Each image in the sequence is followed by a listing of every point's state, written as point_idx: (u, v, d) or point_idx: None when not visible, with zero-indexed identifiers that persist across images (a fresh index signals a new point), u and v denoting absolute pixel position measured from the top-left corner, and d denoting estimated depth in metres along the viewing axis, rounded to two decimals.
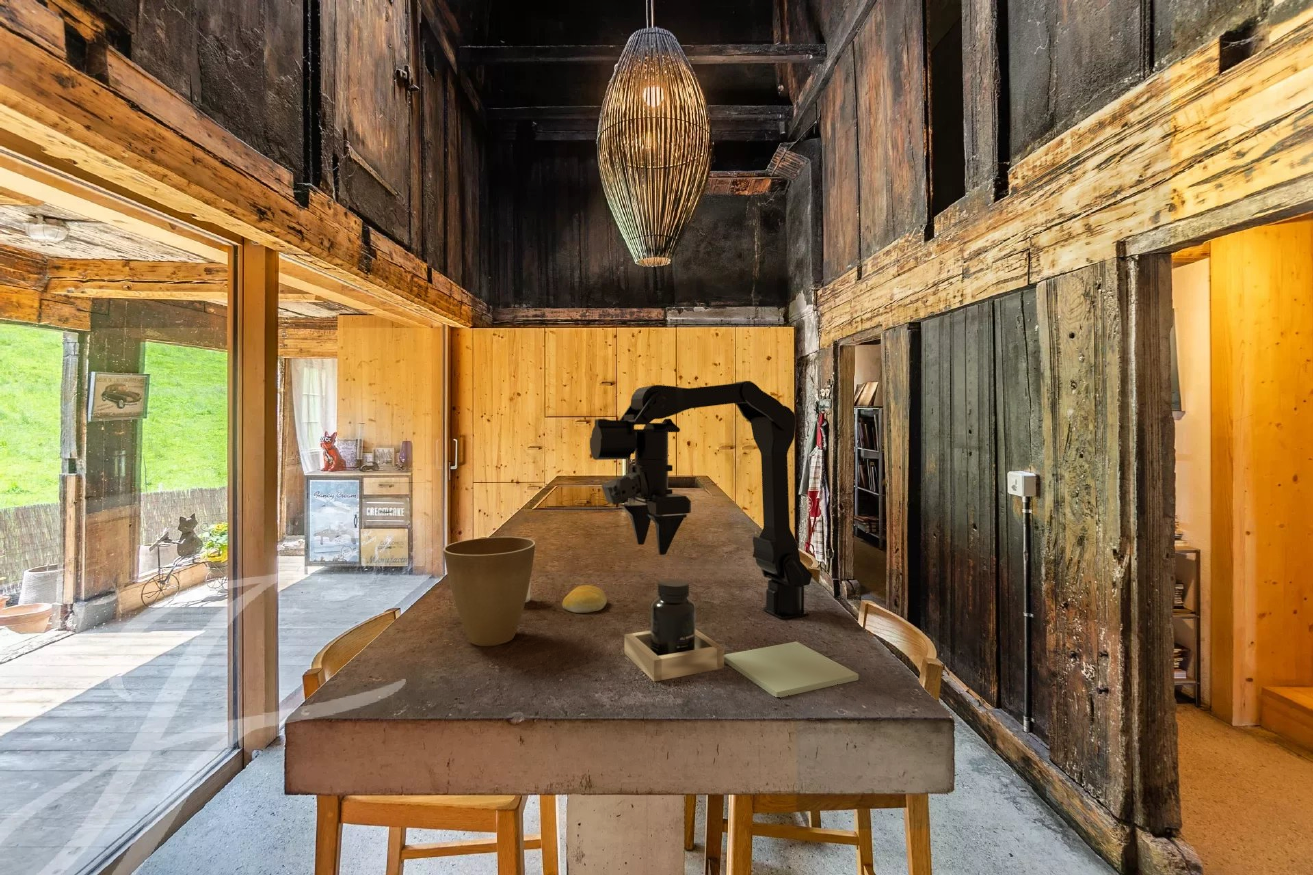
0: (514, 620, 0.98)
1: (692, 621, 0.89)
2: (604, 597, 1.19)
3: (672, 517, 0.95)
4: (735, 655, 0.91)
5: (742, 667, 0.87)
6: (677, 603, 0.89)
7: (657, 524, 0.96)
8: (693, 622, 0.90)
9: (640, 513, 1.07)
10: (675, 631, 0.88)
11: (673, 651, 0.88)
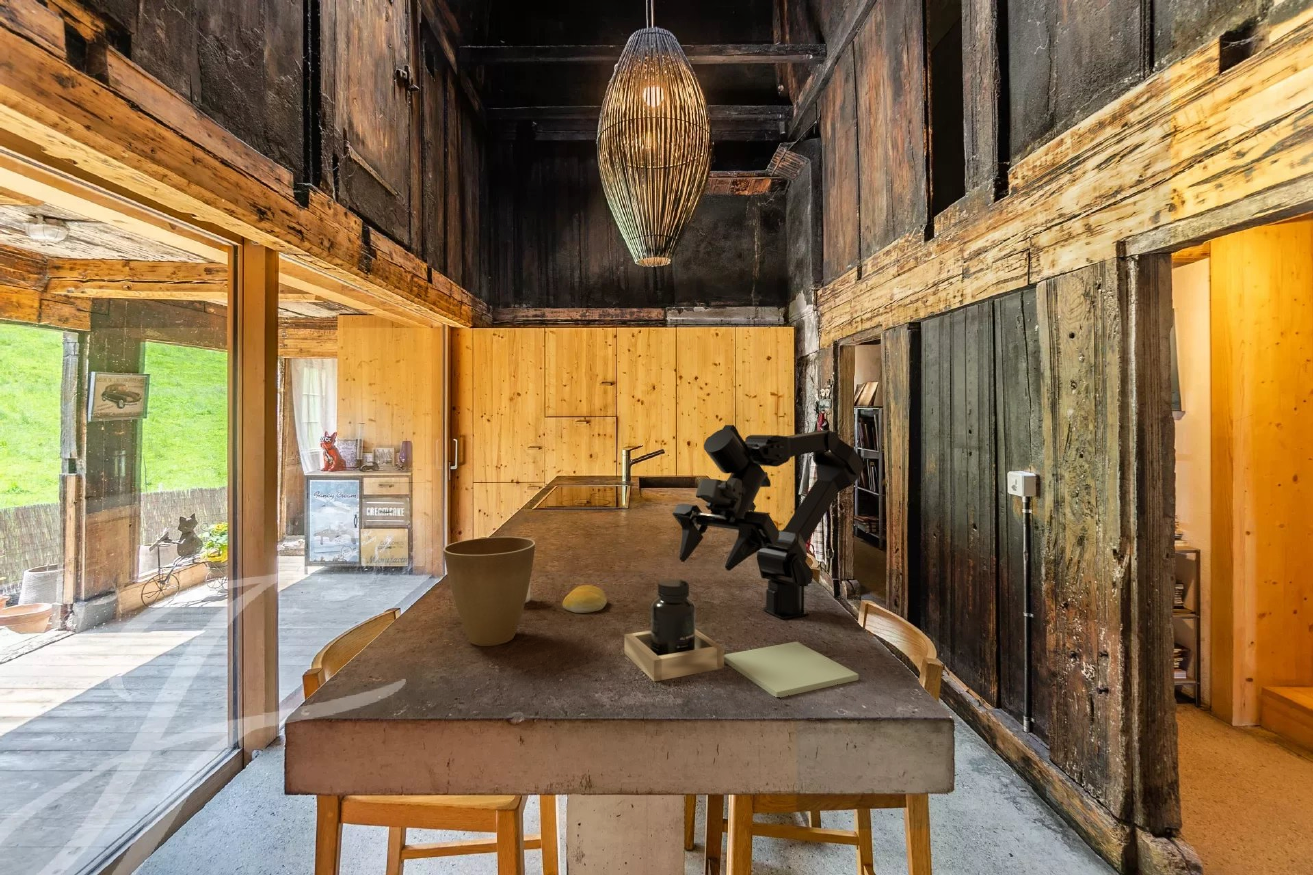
0: (514, 620, 0.98)
1: (692, 621, 0.89)
2: (604, 597, 1.19)
3: (761, 538, 0.95)
4: (735, 655, 0.91)
5: (742, 667, 0.87)
6: (677, 603, 0.89)
7: (743, 537, 0.95)
8: (693, 622, 0.90)
9: (693, 534, 1.03)
10: (675, 631, 0.88)
11: (673, 651, 0.88)
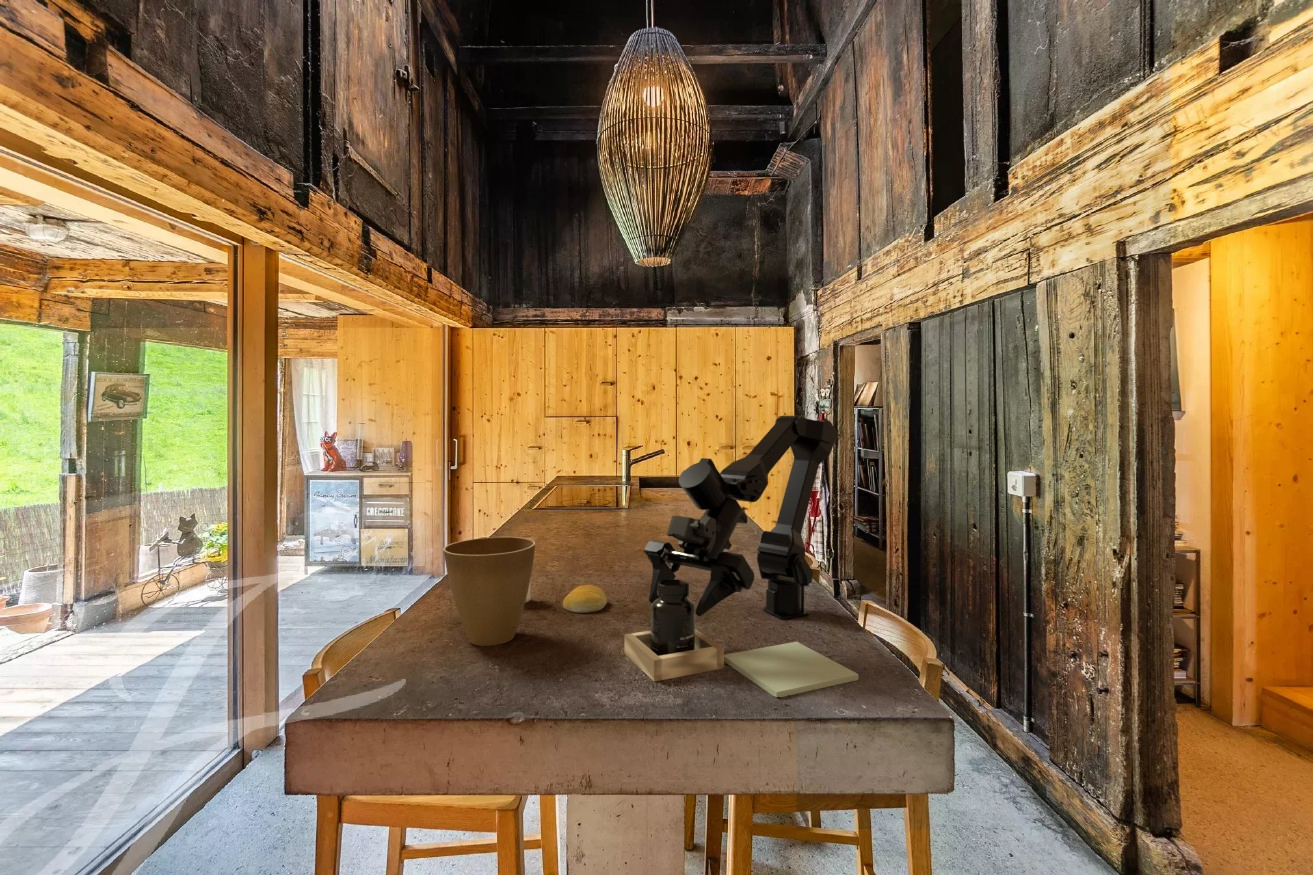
0: (514, 620, 0.98)
1: (692, 621, 0.89)
2: (604, 597, 1.19)
3: (735, 581, 0.90)
4: (735, 655, 0.91)
5: (742, 667, 0.87)
6: (677, 603, 0.89)
7: (716, 580, 0.89)
8: (693, 622, 0.90)
9: (665, 573, 0.97)
10: (675, 631, 0.88)
11: (673, 651, 0.88)
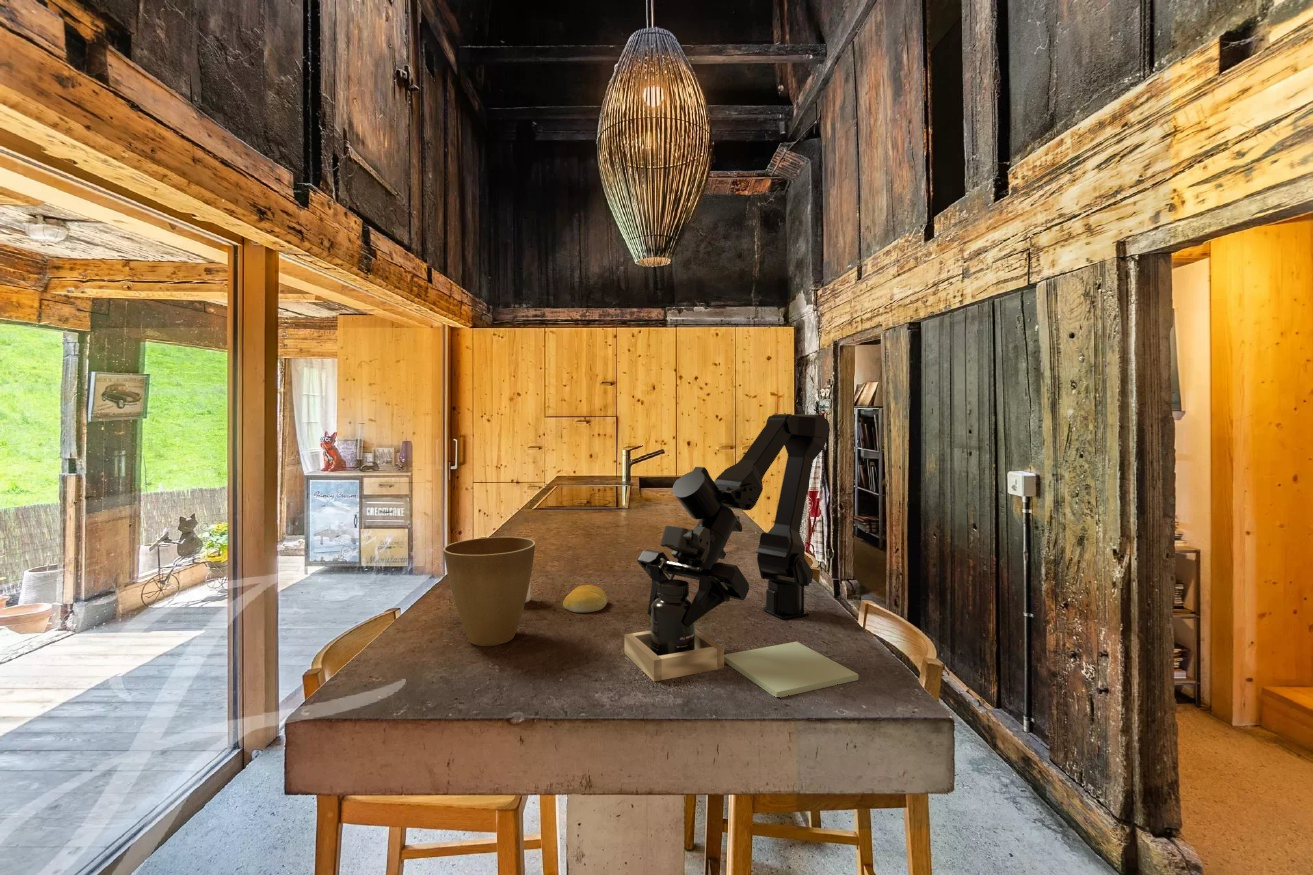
0: (514, 620, 0.98)
1: None
2: (605, 597, 1.19)
3: (723, 591, 0.89)
4: (735, 655, 0.91)
5: (742, 667, 0.87)
6: (677, 603, 0.89)
7: (704, 590, 0.89)
8: None
9: None
10: (675, 631, 0.88)
11: (673, 651, 0.88)
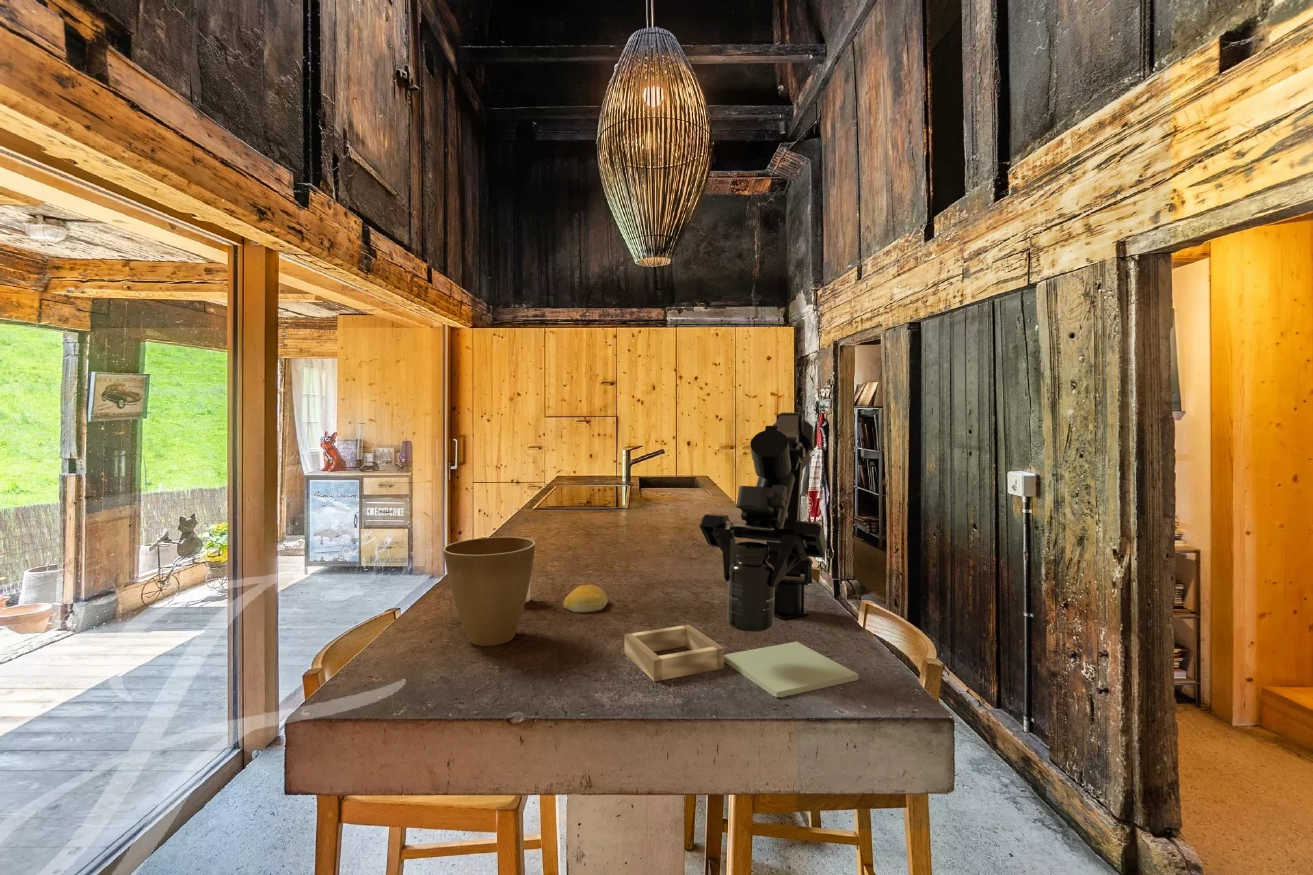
0: (514, 620, 0.98)
1: None
2: (605, 597, 1.19)
3: (804, 549, 0.87)
4: (735, 655, 0.91)
5: (742, 667, 0.87)
6: (761, 565, 0.86)
7: (787, 549, 0.86)
8: None
9: (733, 548, 0.92)
10: (761, 593, 0.85)
11: (759, 614, 0.85)
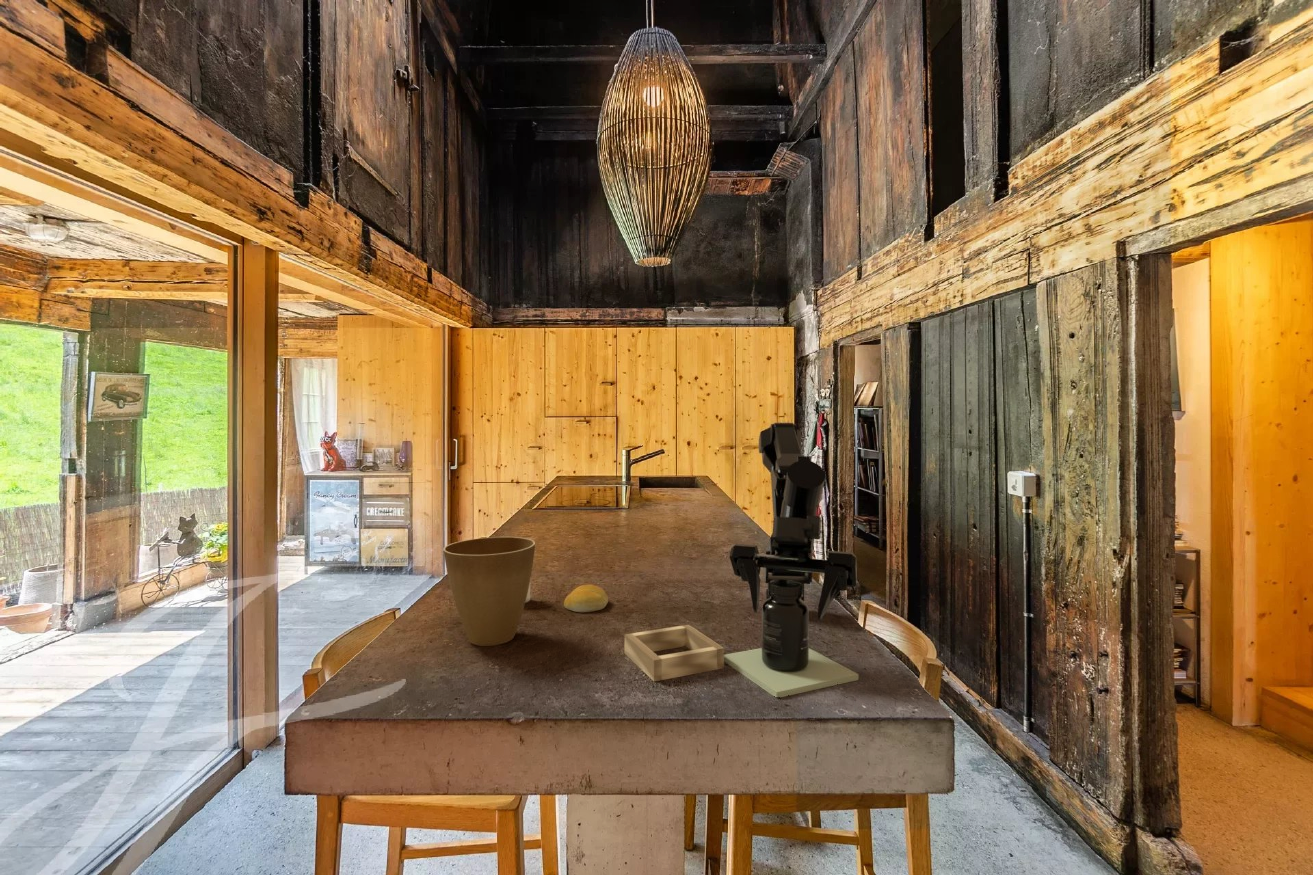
0: (514, 620, 0.98)
1: None
2: (605, 596, 1.19)
3: (846, 580, 0.88)
4: (735, 655, 0.91)
5: (742, 667, 0.87)
6: (797, 604, 0.86)
7: (831, 580, 0.87)
8: None
9: (757, 578, 0.92)
10: (799, 632, 0.85)
11: (798, 653, 0.85)
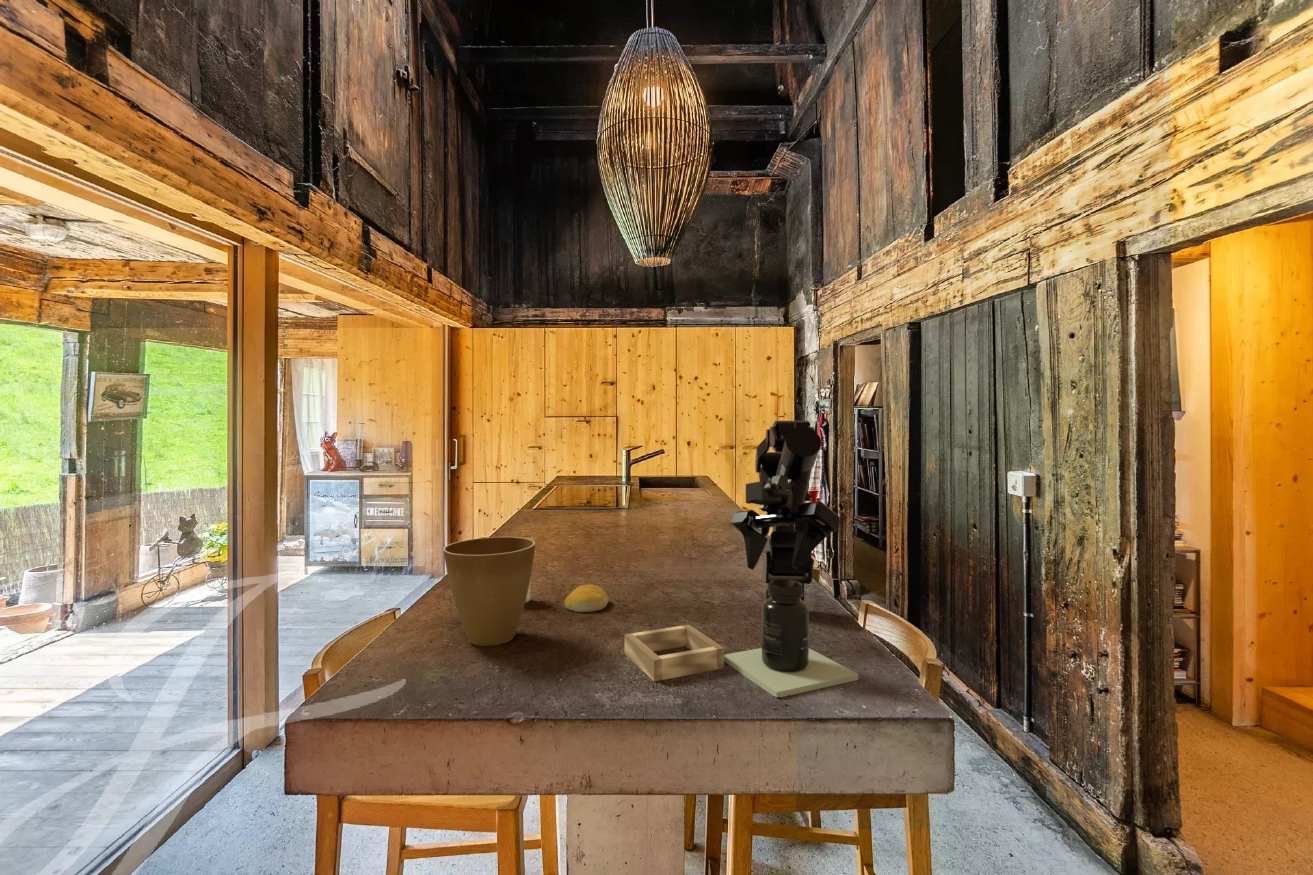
0: (514, 620, 0.98)
1: None
2: (606, 596, 1.19)
3: (821, 527, 0.93)
4: (735, 655, 0.91)
5: (742, 667, 0.87)
6: (797, 604, 0.86)
7: (802, 531, 0.93)
8: None
9: (756, 538, 1.02)
10: (799, 632, 0.85)
11: (798, 653, 0.85)
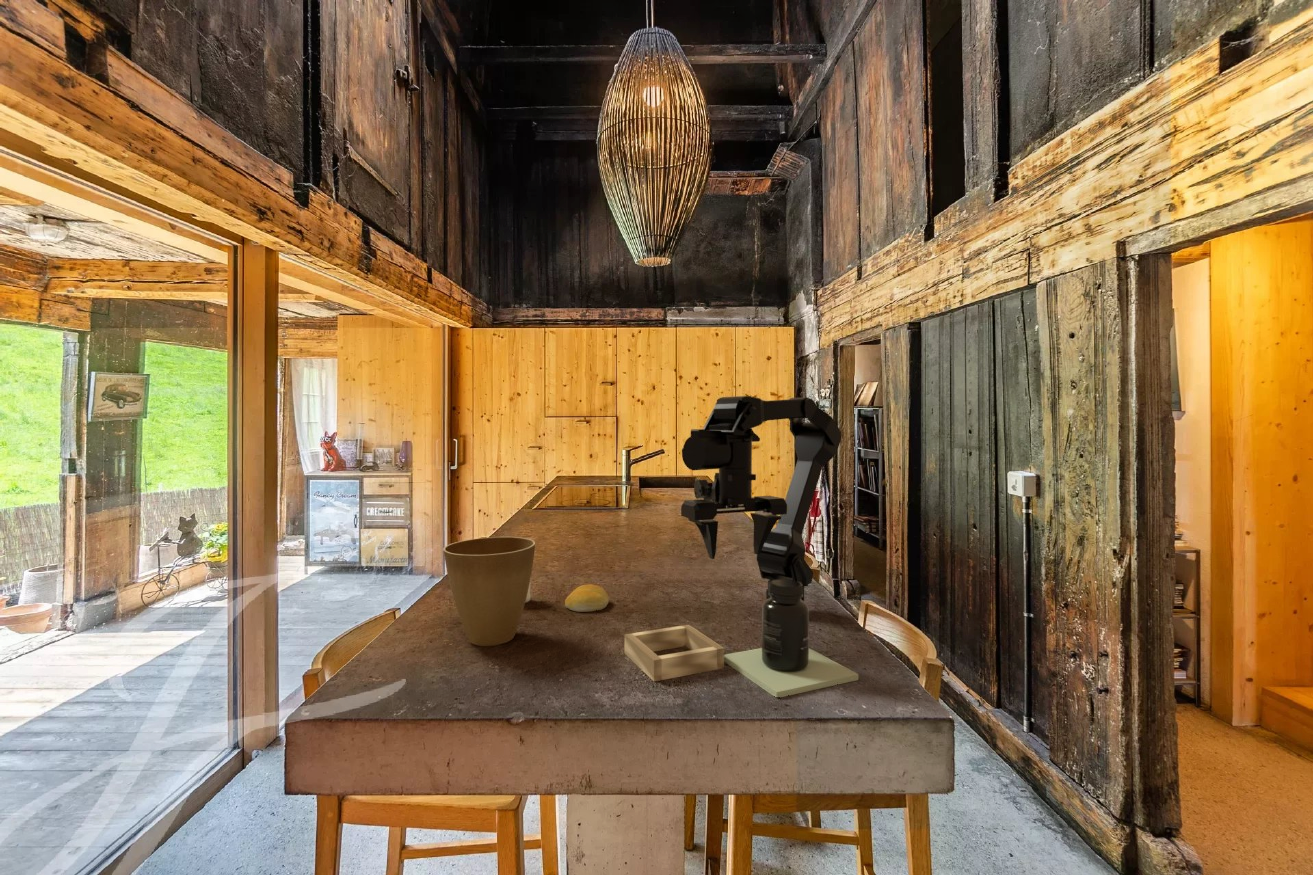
0: (514, 620, 0.98)
1: None
2: (606, 596, 1.20)
3: (694, 521, 1.01)
4: (735, 655, 0.91)
5: (742, 667, 0.87)
6: (797, 604, 0.86)
7: None
8: None
9: (758, 523, 1.07)
10: (799, 632, 0.85)
11: (798, 653, 0.85)
